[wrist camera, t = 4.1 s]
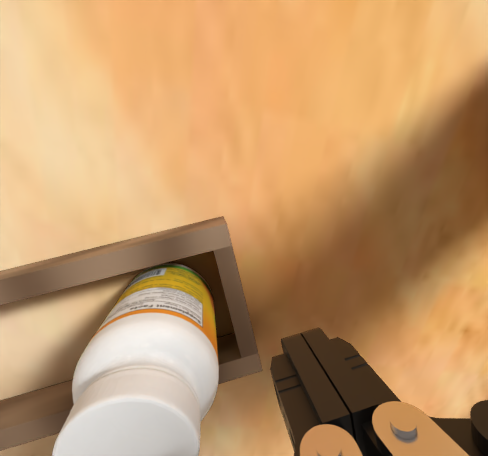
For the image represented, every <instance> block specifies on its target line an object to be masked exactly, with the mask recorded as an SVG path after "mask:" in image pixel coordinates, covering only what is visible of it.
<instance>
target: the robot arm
mask: <svg viewBox="0 0 488 456" xmlns="http://www.w3.org/2000/svg"><path fill="white" fill-rule="evenodd" d="M281 343H282V348H283V352H284V354H282V355H278V356H275V357H272V363H271V368H270V370H271V374H272V378H273V382H274V386H275V390H276V395H277V399H278V403H279V406H280V409H281V412H282V415H283V418H284V421H285V424H286V427H287V430H288V434H289V437H290V440H291V443H292V446H293V449H294V452H295V453H294V456H488V400H485V401H480V402H478V403H476V404H475V405H474V406H473V407H472V409H471V419H455V418H433V417H429V416H427V415H426V414H425V413H424V412H423V411H421V410H420V409H418V408H417V407H415V406H413V405H410V404H408V403H404V402H401V401H400V400H399V399H398V398H397V397H396V395H395V394H394V393H393V392H392V391H391V390H390V389H389V387H388V386H387V385H386V384H385V383H384V382H383V381H382V379H381V378H380V377H379V376H378V375H377V374H376V373H375V371H374V370H373V369H372V368H371V367H370V366H369V365H368V364H367V362H366V361H365V360H364V359H363V358H362V357H361V356H360V355H359V353H358V352H357V351H356V350H355V349H354V347H353V346H352V345H351V344H350V343H348V342H346V341H344V340H342V339H340V338H338V337H337V338H333V339H330V340H329V339H328V337H327V336H326V335H325V334H324V332H323V331H322V330H321V329H320V328H316V329H312V330H309V331H306V332H302V333H299V334H296V335H293V336H289V337H286V338H283V339H281Z"/></svg>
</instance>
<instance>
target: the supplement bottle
mask: <svg viewBox="0 0 488 456" xmlns="http://www.w3.org/2000/svg"><path fill="white" fill-rule="evenodd" d="M218 381H219V365H218V351H217V338H216V324H215V312H214V301H213V295H212V292H211V289H210V287H209V285H208V283H207V282H206V280H205V279H204V278H203V277H202V276H201V275H200V274H199V273H197V272H196V271H194V270H193V269H191V268H189V267H187V266H184V265H180V264H173V263H166V264H159V265H155V266H152V267H150V268H148V269H146V270H144V271H142V272H141V273H140V274H138V275H137V276H136V277H135V278H134V279H133V280H132V281H131V283H130V284H129V285H128V287H127V288H126V289H125V291H124V292H123V294H122V295H121V297H120V298H119V300H118V301H117V303H116V304H115V305H114V307H113V308H112V310H111V311H110V313H109V314H108V316H107V317H106V319H105V320H104V321H103V323H102V324H101V326H100V327H99V329H98V330H97V332H96V333H95V334H94V336H93V337H92V339H91V340H90V342H89V343H88V345H87V347H86V348H85V350H84V352H83V353H82V355H81V357H80V359H79V361H78V363H77V366H76V369H75V372H74V376H73V382H72V395H73V403H74V405H73V407H72V409H71V411H70V414H69V416H68V418H67V419H66V422H65V423H64V425H63V427H62V429H61V431H60V433H59V435H58V437H57V439H56V442H55V444H54V448H53V453H52V456H199V450H200V422H201V421H202V419H203V418H204V417H205V415H206V414H207V413H208V411H209V409H210V407H211V406H212V404H213V401H214V399H215V396H216V393H217V388H218Z"/></svg>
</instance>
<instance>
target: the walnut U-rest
mask: <svg viewBox="0 0 488 456" xmlns="http://www.w3.org/2000/svg"><path fill="white" fill-rule="evenodd" d="M209 251H214V255H215V259H216V262H217V266H218V270H219V274H220V278H221V282H222V286H223V289H224V293H225V297H226V301H227V305H228V309H229V312H230V316H231V320H232V324H233V328H234V332H235V333H233V334H230V335H226V336H223V337H219V338H217V351H218V365H219V381H218V384H221V383H224V382H227V381H230V380H234V379H237V378H240V377H243V376H247V375H250V374H253V373H257V372H260V371H262V366H261V362H260V358H259V354H258V350H257V346H256V342H255V338H254V334H253V330H252V325H251V321H250V317H249V313H248V309H247V305H246V301H245V297H244V293H243V289H242V284H241V280H240V276H239V272H238V268H237V264H236V260H235V256H234V252H233V248H232V243H231V239H230V235H229V231H228V227H227V223H226V221H225V219H224V217H223V216H222V217H218V218H214V219H210V220H206V221H202V222H198V223H194V224H190V225H186V226H182V227H177V228H173V229H169V230H165V231H161V232H157V233H153V234H149V235H145V236H141V237H137V238H133V239H129V240H125V241H121V242H117V243H113V244H108V245H104V246H100V247H96V248H92V249H88V250H84V251H80V252H76V253H72V254H68V255H64V256H60V257H56V258H52V259H48V260H43V261H39V262H35V263H31V264H27V265H23V266H19V267H15V268H11V269H7V270H3V271H0V305H3V304H7V303H11V302H15V301H19V300H23V299H26V298H30V297H34V296H38V295H42V294H46V293H50V292H54V291H58V290H61V289H65V288H69V287H73V286H77V285H81V284H85V283H89V282H92V281H96V280H100V279H104V278H108V277H112V276H116V275H120V274H124V273H127V272H131V271H135V270H139V269H143V268H147V267H151V266H155V265H159V264H162V263H166V262H170V261H174V260H178V259H182V258H186V257H190V256H193V255H197V254H201V253H205V252H209ZM72 382H73V380H70V381H67V382H64V383H60V384H57V385H53V386H50V387H46V388H43V389H39V390H36V391H32V392H29V393H25V394H22V395H19V396H15V397H12V398H8V399H5V400H1V401H0V451H1V450H4V449H8V448H11V447H14V446H18V445H21V444H24V443H27V442H31V441H34V440H37V439H40V438H44V437H47V436H50V435H54V434H57V433H60V431H61V429H62V427H63V425H64V423H65V422H66V419H67V418H68V416H69V414H70V411H71V409H72V407H73V405H74V403H73V395H72Z"/></svg>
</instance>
